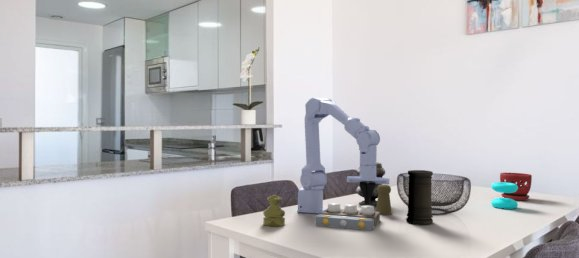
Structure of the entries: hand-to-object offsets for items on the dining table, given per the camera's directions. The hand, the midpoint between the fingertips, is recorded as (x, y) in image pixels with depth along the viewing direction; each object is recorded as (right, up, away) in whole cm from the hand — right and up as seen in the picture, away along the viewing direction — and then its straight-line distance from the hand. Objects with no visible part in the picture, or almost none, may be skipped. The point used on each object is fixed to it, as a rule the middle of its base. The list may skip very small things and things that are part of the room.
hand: (367, 203), depth 156 cm
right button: (0, -4, 0) cm, 4 cm away
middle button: (-6, -4, +2) cm, 7 cm away
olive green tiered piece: (-32, -7, -4) cm, 33 cm away
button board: (-6, -6, +2) cm, 9 cm away
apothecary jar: (+7, -6, +35) cm, 36 cm away
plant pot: (+77, -7, +52) cm, 93 cm away
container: (+18, -7, +1) cm, 20 cm away
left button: (-11, -4, +4) cm, 13 cm away
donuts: (+62, -7, +31) cm, 70 cm away
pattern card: (-9, -7, -6) cm, 13 cm away
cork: (+9, -7, +16) cm, 19 cm away
